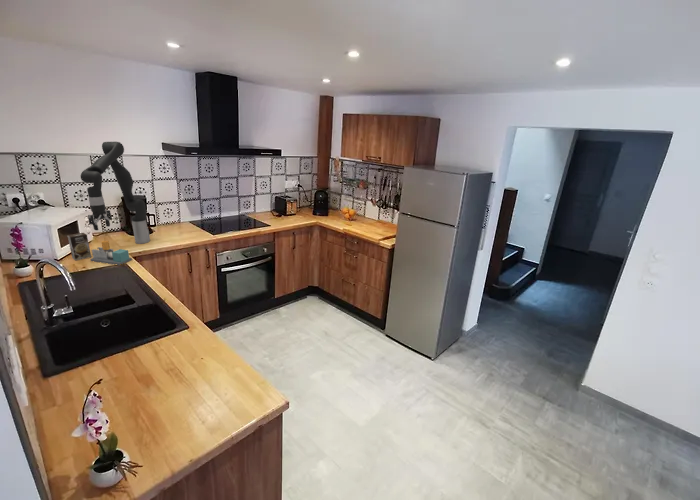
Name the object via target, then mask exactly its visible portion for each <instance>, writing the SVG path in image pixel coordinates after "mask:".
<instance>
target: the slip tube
mask: <svg viewBox="0 0 700 500" xmlns="http://www.w3.org/2000/svg"><path fill="white" fill-rule="evenodd" d="M101 245H102V248H103V250H104V251H108V252H107V255H108V257H112V258H113V256H112V252H109V249H111V247H110V243H109V240H103V241H101Z"/></svg>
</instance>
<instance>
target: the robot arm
mask: <svg viewBox="0 0 700 500" xmlns="http://www.w3.org/2000/svg"><path fill="white" fill-rule="evenodd" d="M101 149H102V152H103V154H104V155H102V156H100V157H98V158H97V159H96V160H95V161H94V162H93V164H91V165H90V166H89V167H87V168H85V169H84V170H82V171H81V173H80V179H81V181H82V182H83V183H88V184H92V185H93V186H89V187H87V189H86V191H87V195H88V203H89V207H90V211H91V213H92V214H88V215H87V219H88V223H89V225H92V226H93V230H94V231H99V225H98V223H99V221H100V220H104V222H105V223H104V224H105V226H106V227H110V226H111V223H110V221H111V220H113V217H112V213H111V210H109V209H106V204H105V199H104V195H103V192H102V185H103V174H104V173H105V172H106V170H107V169H108V168H109V166H110V168H111V170H112V171H113V173H114V176H115V179H116V182H117V184H118V186H119V188H120V191H121V194H122V197H123V200H124V204H125V206H126V208H127V209H128V210H129V211H131V212H135V213H134V214H135V215H132V216H131V224H132V230H133V231H132V232H133V237H134V242H135V244H138V245H139V244H148V243H149V242H150V241H151V237H150V231H149V228H148V225H147V218H146V217H147V207H146V203H145V201H144V200H143V199H138V198H135V196H134V194H133V186H134V179H133V177H132V174H131V172H130V171H129V170H128V169H127V168H126V167H125V166H123V165H122V164H121V163H120V162H119V160H118V159H119V158H120V157H121V156H123V154H124V153H125V147H124V145H123V143H121V142H120V141H103V142H102V144H101Z"/></svg>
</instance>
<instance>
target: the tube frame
mask: <svg viewBox="0 0 700 500" xmlns="http://www.w3.org/2000/svg"><path fill="white" fill-rule="evenodd" d="M107 252H108V251H104V250H103V247H101V246H98V247H97V249H96V248H94V249H91V255H92V257H91V258H90V262H93V261H94V262H95V263H100V262H101V263H102V264H106V263H108V264H109V265H113V264H117V265H116V266H121V265H120V264H122V265H124V264H126V263H129V262H130V261H132V260H133V258H132V257H130V254H129V250H128V249H123V248H120V249H117V250H114V249H113V248H110V249H109V252H112V256H113V258H112V257H108V255H107ZM123 263H124V264H123Z"/></svg>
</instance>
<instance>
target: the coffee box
mask: <svg viewBox="0 0 700 500" xmlns="http://www.w3.org/2000/svg"><path fill="white" fill-rule="evenodd" d="M66 236H67V239H68V245H69V247H70V248H69V249H70V253H71V258H72V259H73V260H74V261H80V260H83V259H89V258H92V251H91V249H90V244H89V239H88V234H87V233H85V232H79V233H74V234H68V235H66Z"/></svg>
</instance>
